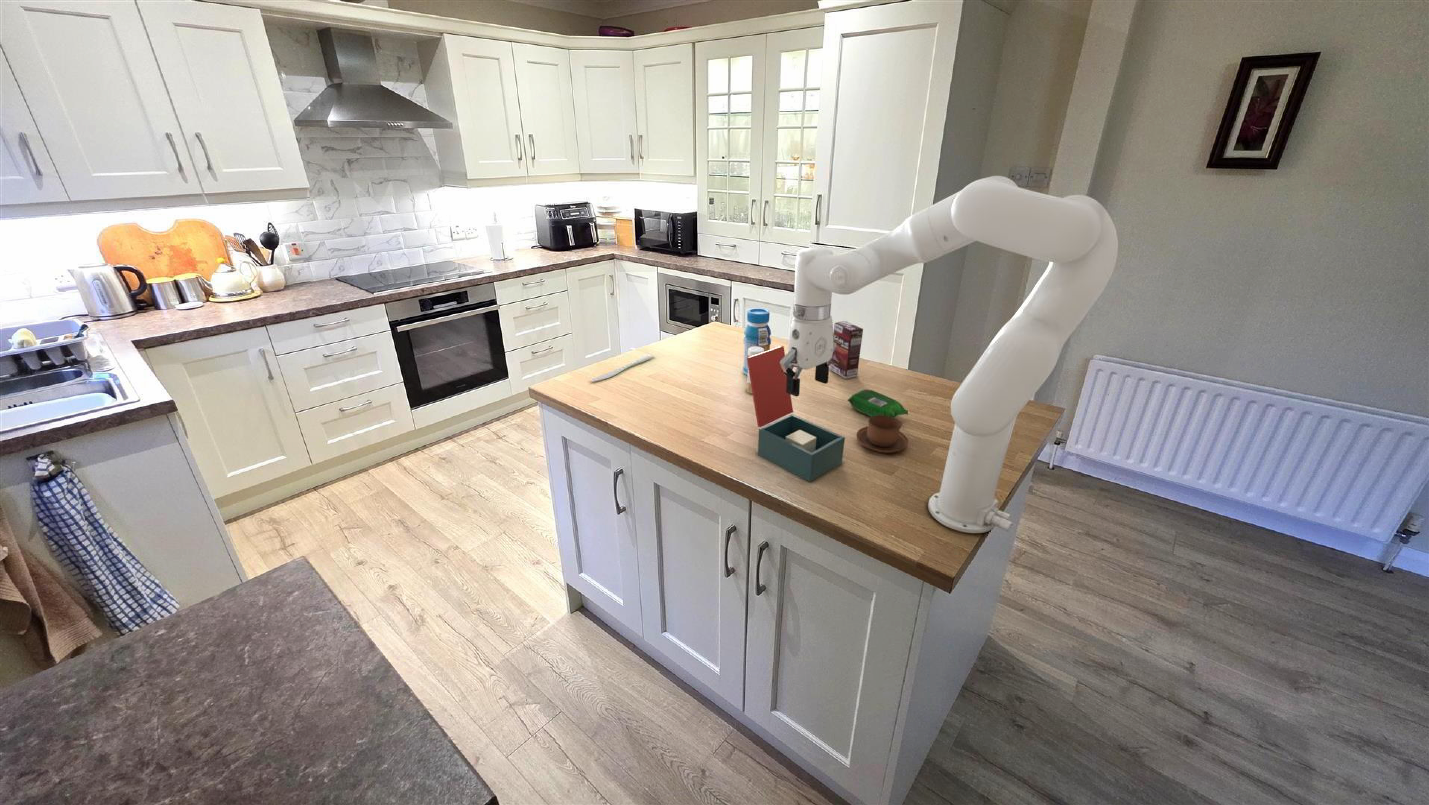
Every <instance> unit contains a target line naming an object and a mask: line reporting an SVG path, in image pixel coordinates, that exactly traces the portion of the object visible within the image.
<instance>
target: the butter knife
mask: <svg viewBox="0 0 1429 805" xmlns="http://www.w3.org/2000/svg"><path fill="white" fill-rule="evenodd" d="M653 358H654V355H647V356H644V357H641V358H639V359H637V360H635V361H633V362H631V363H629V364H626V365H624V366H622V367H620V368H618V369H614V370H612V371H611V372H608V373H605V374H603V375H600V376H599V377H596V378H594V379H591V380H590V382H592V383H595V382H598V381H602V380H605V379H609V378H612V377H613V376H615V375H617V374H620V373H621V372H623V371H624V370H626V369H628V368H630V367H633V366H635V365H637V364H640V363H643V362H646V361H649V360H651V359H653Z"/></svg>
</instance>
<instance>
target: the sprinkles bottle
mask: <svg viewBox="0 0 1429 805" xmlns="http://www.w3.org/2000/svg"><path fill="white" fill-rule="evenodd" d="M762 352H764V349H763V348H762V347H757V346H754V347H750V348H749V349H748V357H750V356H753V355H756V354H759V353H762ZM746 392H747V393H748V394H750V395H753V394H752V387H751V381H750V375H749V369H748V375H747V389H746Z"/></svg>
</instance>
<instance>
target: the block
mask: <svg viewBox="0 0 1429 805" xmlns="http://www.w3.org/2000/svg"><path fill="white" fill-rule="evenodd" d="M816 439H817V437H815V436H812V435H810V434H808V433H806V432H804V431H802V430H798V431H796V432H794V433H792V434H790V435H788V436H786V440H787V441H789V442H791V443H793V444H795V445H797V446H799V447H801V448H803V449H805V450H807V451H809V452H811V453H812V452H814V451H815V449H816Z"/></svg>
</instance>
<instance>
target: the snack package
mask: <svg viewBox="0 0 1429 805" xmlns="http://www.w3.org/2000/svg"><path fill="white" fill-rule="evenodd" d="M847 402H849V404H850V405H851V406H852V408H853V409H854V410H856V411H857V412H860V413H862V414H864V415H867V416H868V417H872V416H876V415H886V416H890V417H893V418H895V419H896V418H898V417H899V416H903V415H907V416H909V410H908V409H906V408H905V407H904V406H903V405H902V404H901V403H900V402H899V401H897V399H894V398H892V397H889V396H887V395H885V394H883V393H879V392H877V391H875V390H873V389H869V388H868V389H866V388H865V389H862V390H859V391H858V392H855V393H854V394H852V395H851V396H850V397H849V398H848V399H847Z"/></svg>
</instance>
